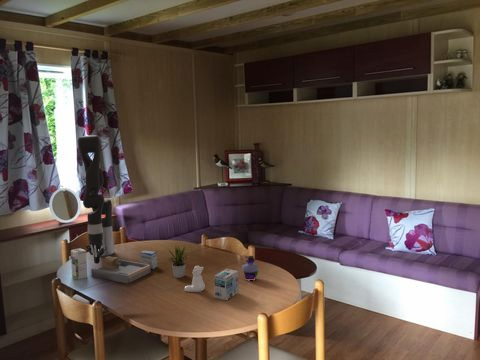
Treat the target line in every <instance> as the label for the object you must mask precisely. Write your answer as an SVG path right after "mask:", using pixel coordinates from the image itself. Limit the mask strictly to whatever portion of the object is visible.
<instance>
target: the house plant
mask: <svg viewBox="0 0 480 360" xmlns="http://www.w3.org/2000/svg"><path fill="white" fill-rule="evenodd" d="M186 248H187V245H185V246H183V248H182V249H181V248H180V245H175V247H174V250H175V251H174V253H175V254H174V253H173V252H172V251H171V250H170V249H168V248H166V250H167V251H168V252H169V253H170V254H171V255H170V254H169V255H168V256H169V257H168V260H169V262H172V263H171V268H172V272H173V277H174V278H177V279H178V278H183V277H184V276H185V271H186V265H187V264H186V263H185V262H186V260H187V259H188V258H190V255H189V256H188V255H187V254H188V253H189V252H190V250H189V249H191V248H192V249H193V248H194V247H188V248H187V249H186Z"/></svg>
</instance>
